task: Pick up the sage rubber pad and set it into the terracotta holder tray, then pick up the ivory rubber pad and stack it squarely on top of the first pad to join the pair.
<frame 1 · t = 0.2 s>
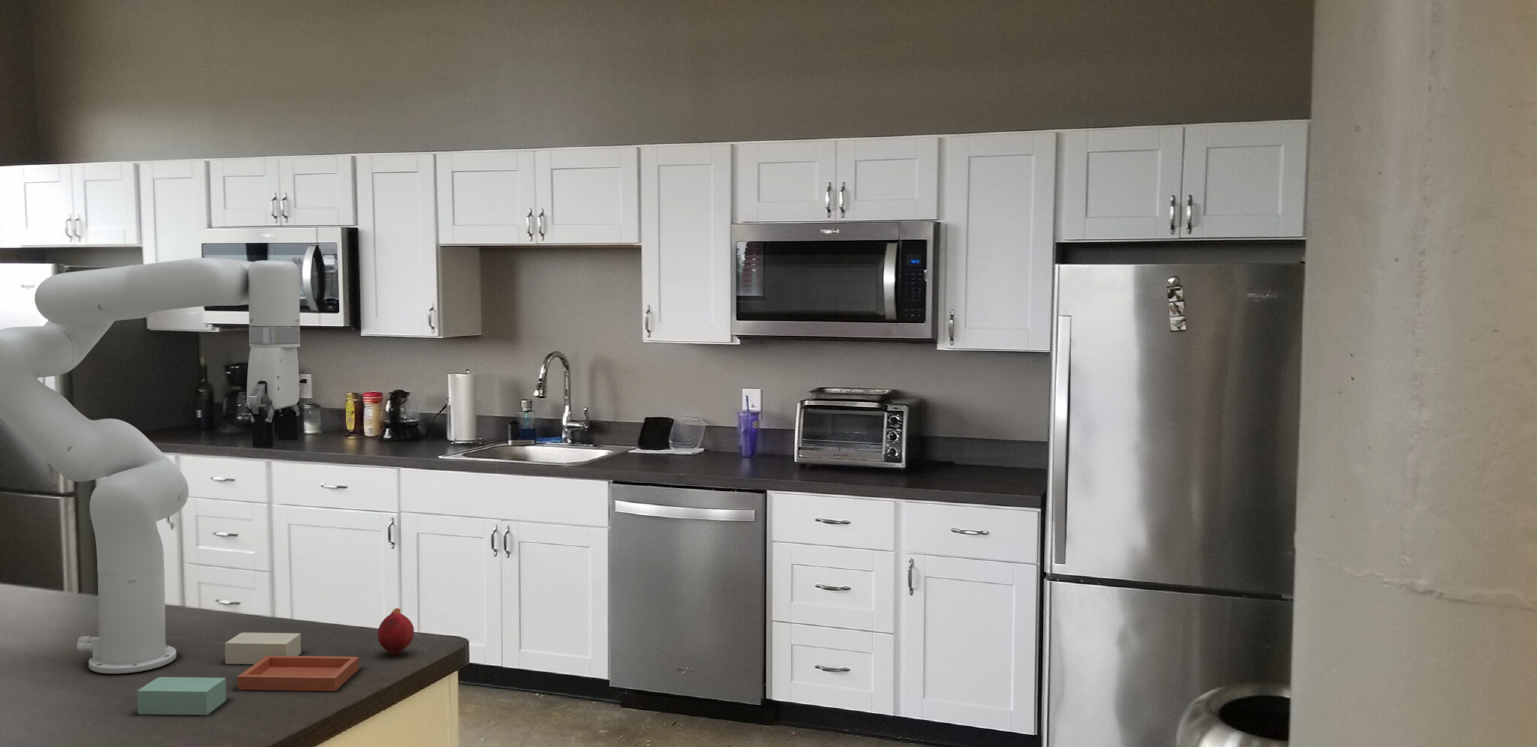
hand: (276, 443, 187), 36 cm above the counter, tool pointing down, fingers open, 9 cm apart
pad top: (263, 658, 193), on the counter
pad base: (182, 707, 170), on the counter
holder: (300, 679, 183), on the counter
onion: (395, 655, 196), on the counter
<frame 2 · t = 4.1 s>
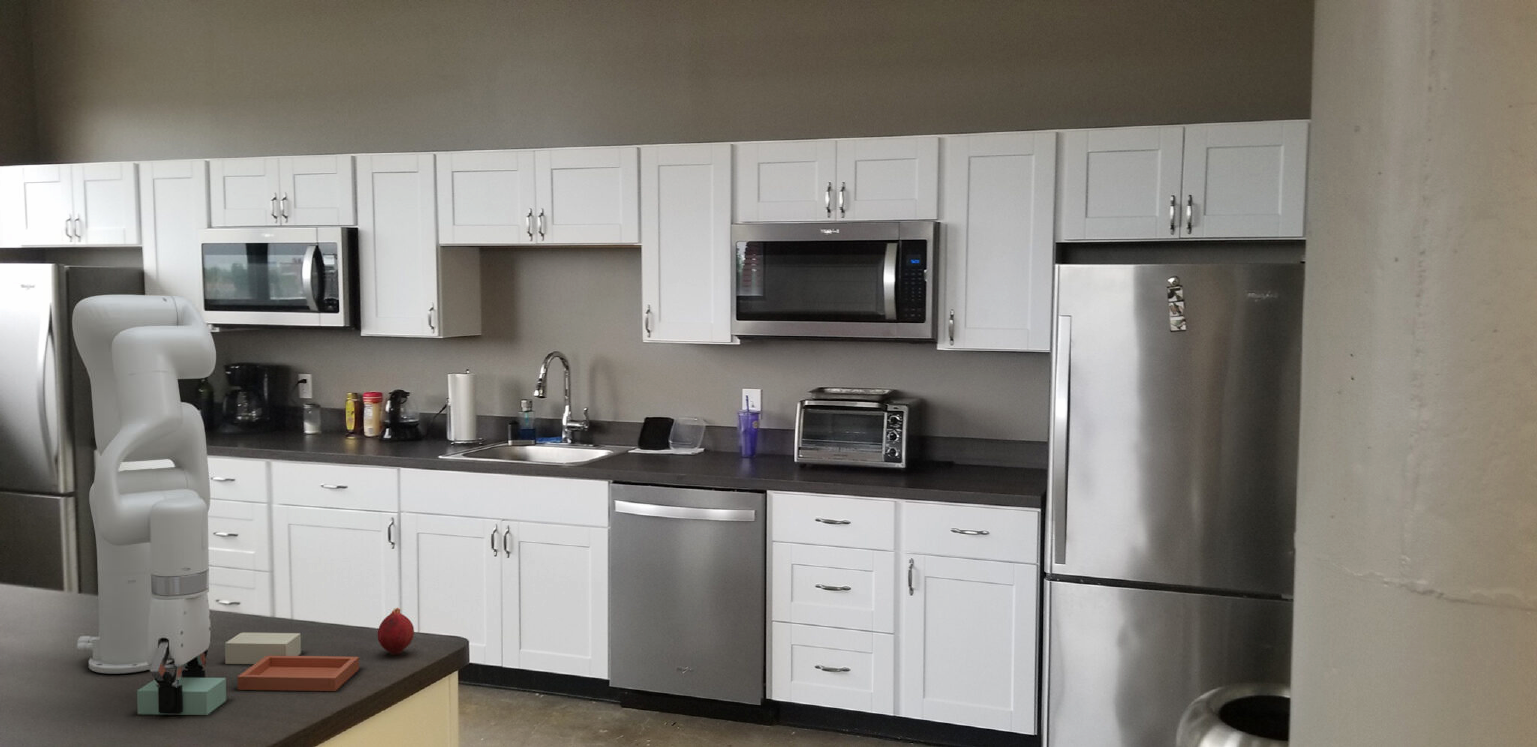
hand: (182, 703, 170), 1 cm above the counter, tool pointing down, fingers closed on pad base, 6 cm apart
pad base: (182, 707, 170), on the counter, touching gripper
everything else where it was.
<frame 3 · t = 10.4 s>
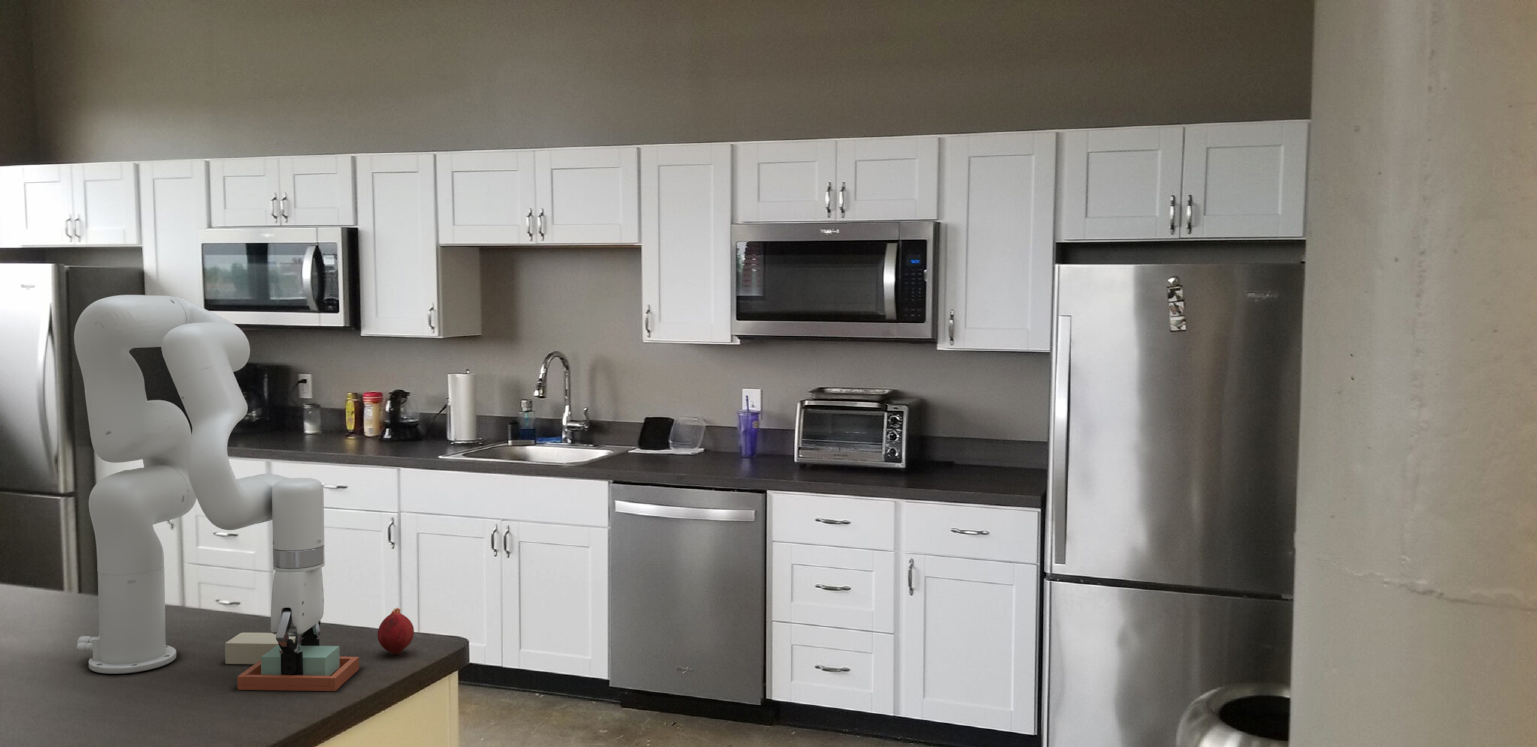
hand: (300, 669, 183), 2 cm above the counter, tool pointing down, fingers closed on pad base, 6 cm apart
pad base: (301, 672, 183), point 1 cm above the counter, touching gripper
everything else where it was.
when the fingers open (2 cm above the counter, at t = 17.8 s): pad base stays where it is, resting on holder.
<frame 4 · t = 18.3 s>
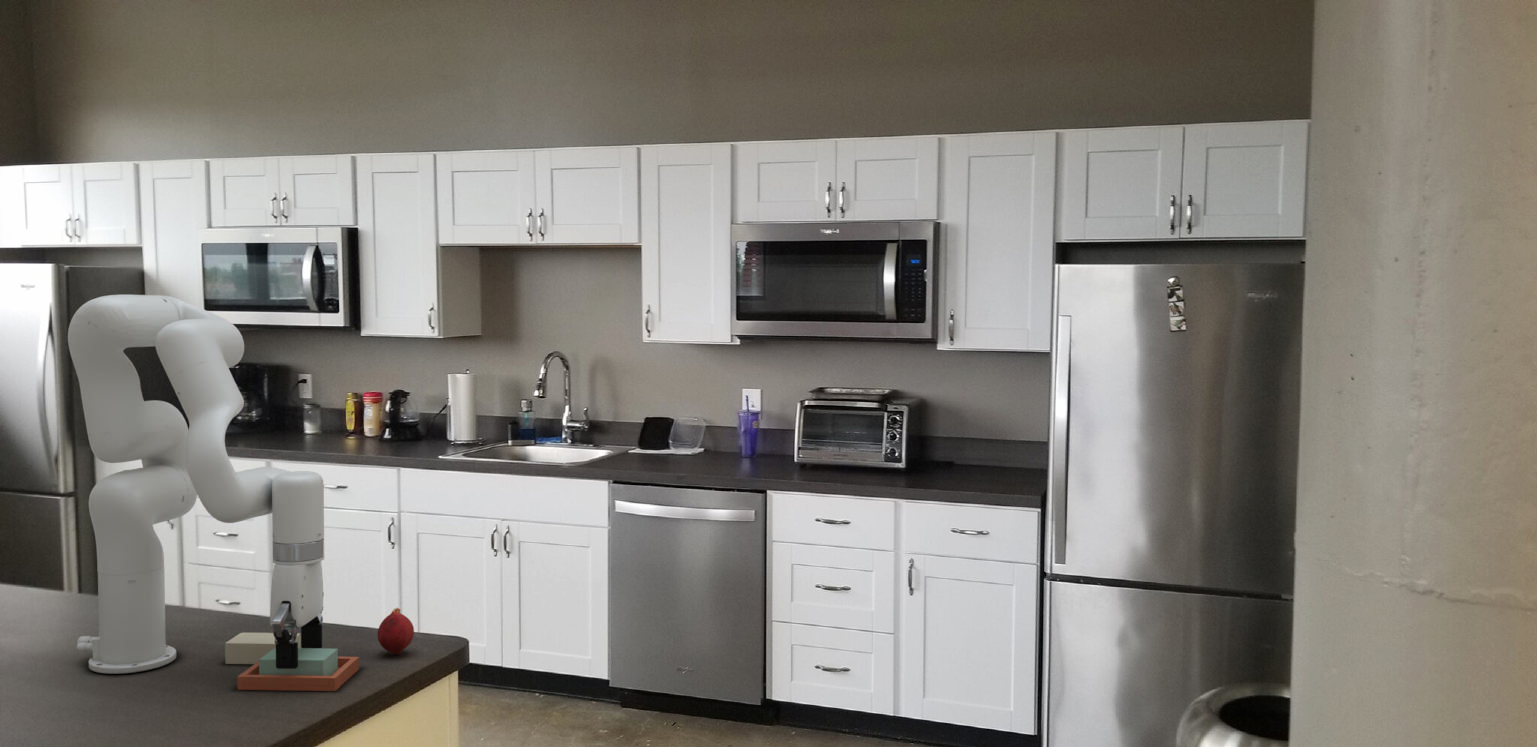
hand: (299, 657, 182), 3 cm above the counter, tool pointing down, fingers open, 9 cm apart
pad base: (299, 675, 183), point 1 cm above the counter, touching holder
everything else where it was.
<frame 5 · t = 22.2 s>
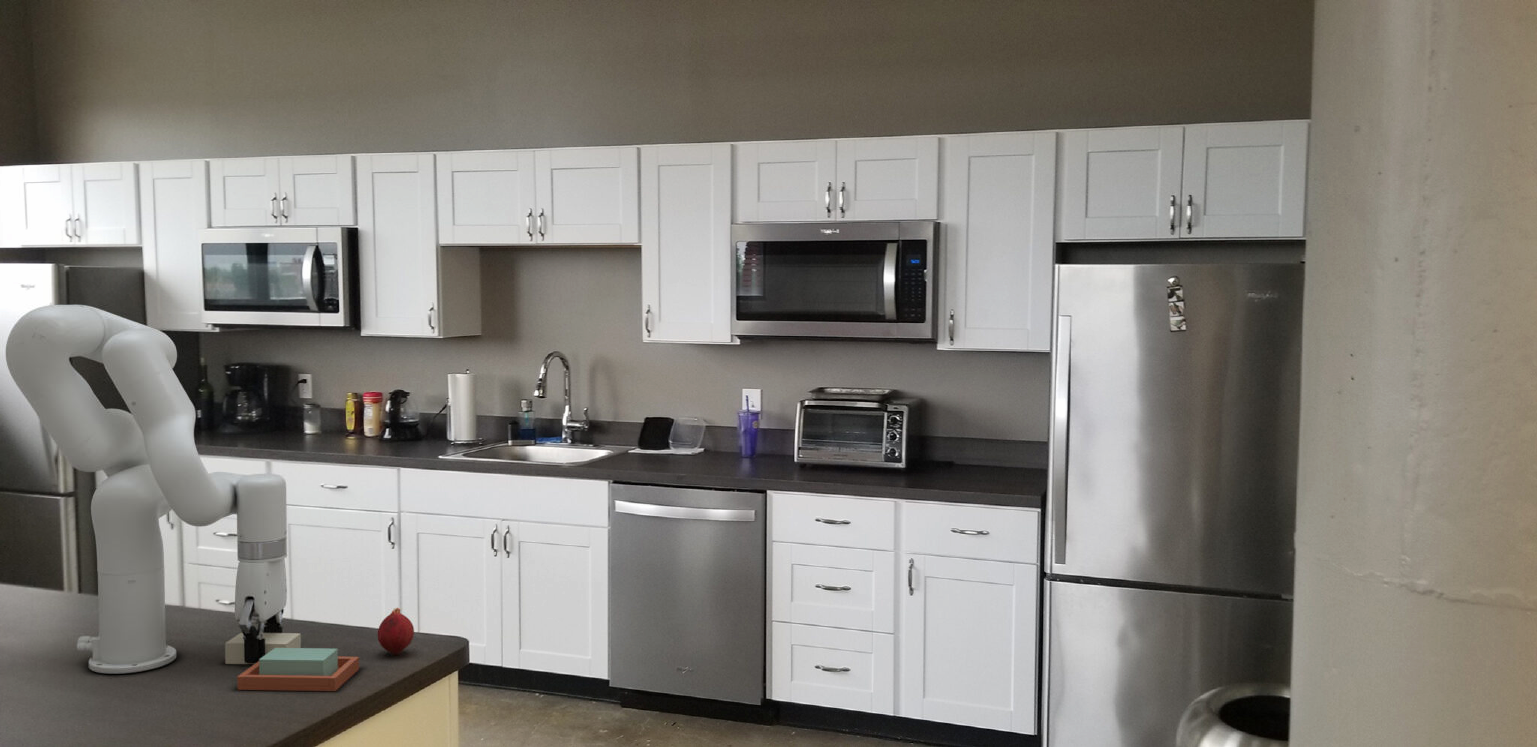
hand: (263, 654, 193), 1 cm above the counter, tool pointing down, fingers closed on pad top, 6 cm apart
pad top: (263, 658, 193), on the counter, touching gripper
everything else where it was.
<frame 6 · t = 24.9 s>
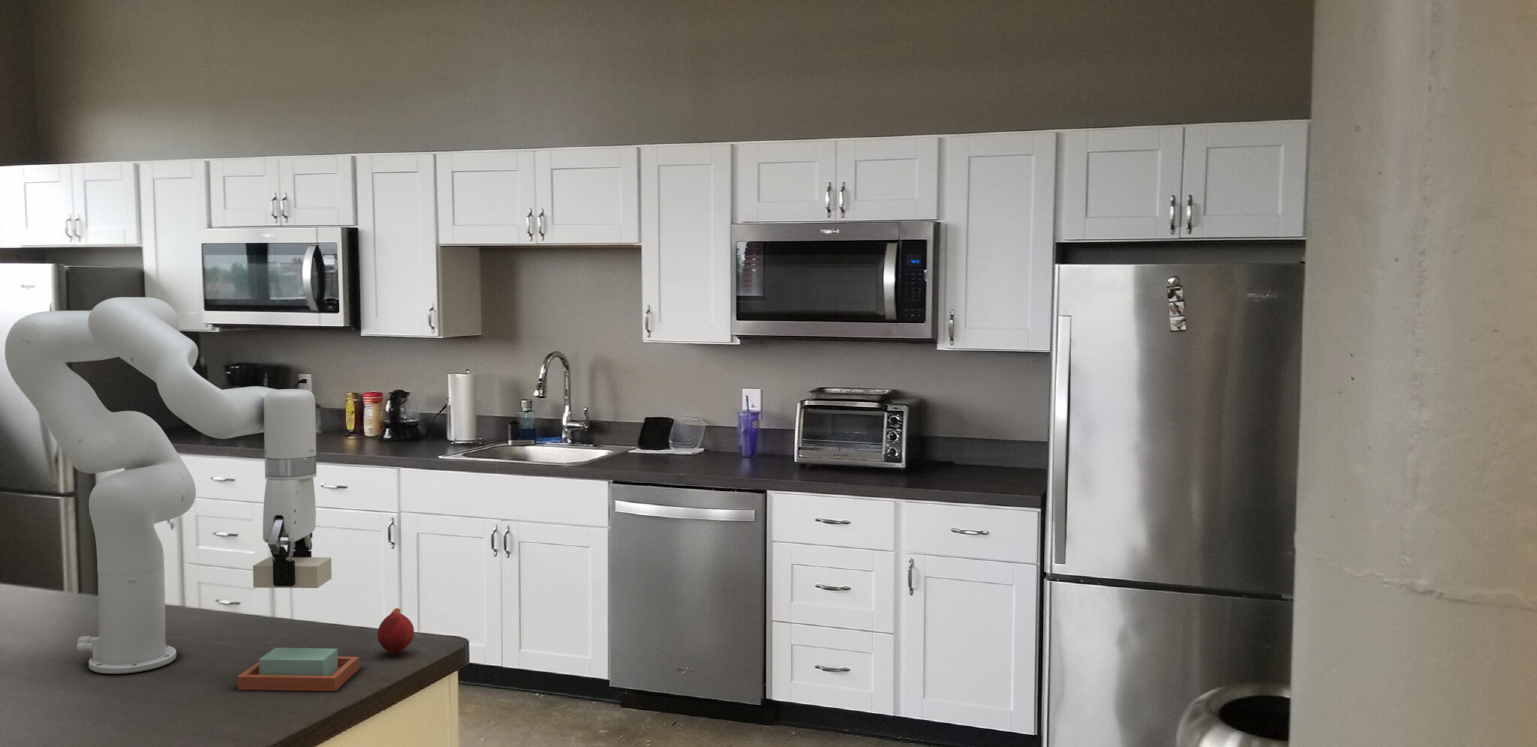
hand: (292, 579, 184), 15 cm above the counter, tool pointing down, fingers closed on pad top, 6 cm apart
pad top: (293, 583, 184), point 15 cm above the counter, touching gripper
everything else where it was.
when the fingers open (5 cm above the counter, at t = 28.0 s): pad top stays where it is, resting on pad base.
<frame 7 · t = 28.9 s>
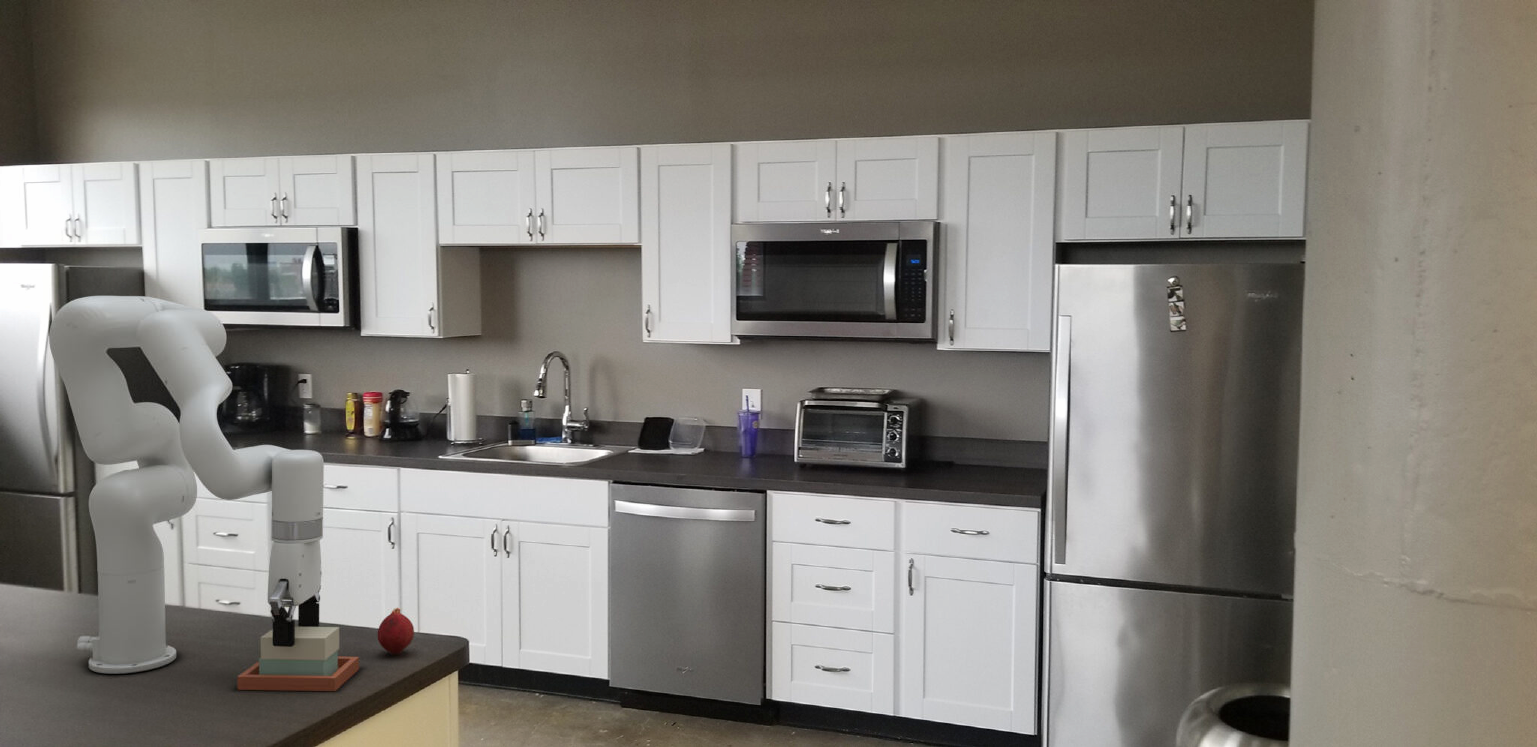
hand: (296, 636, 183), 7 cm above the counter, tool pointing down, fingers open, 9 cm apart
pad top: (300, 653, 182), point 4 cm above the counter, touching pad base
pad base: (299, 675, 183), point 1 cm above the counter, touching holder, pad top
everything else where it was.
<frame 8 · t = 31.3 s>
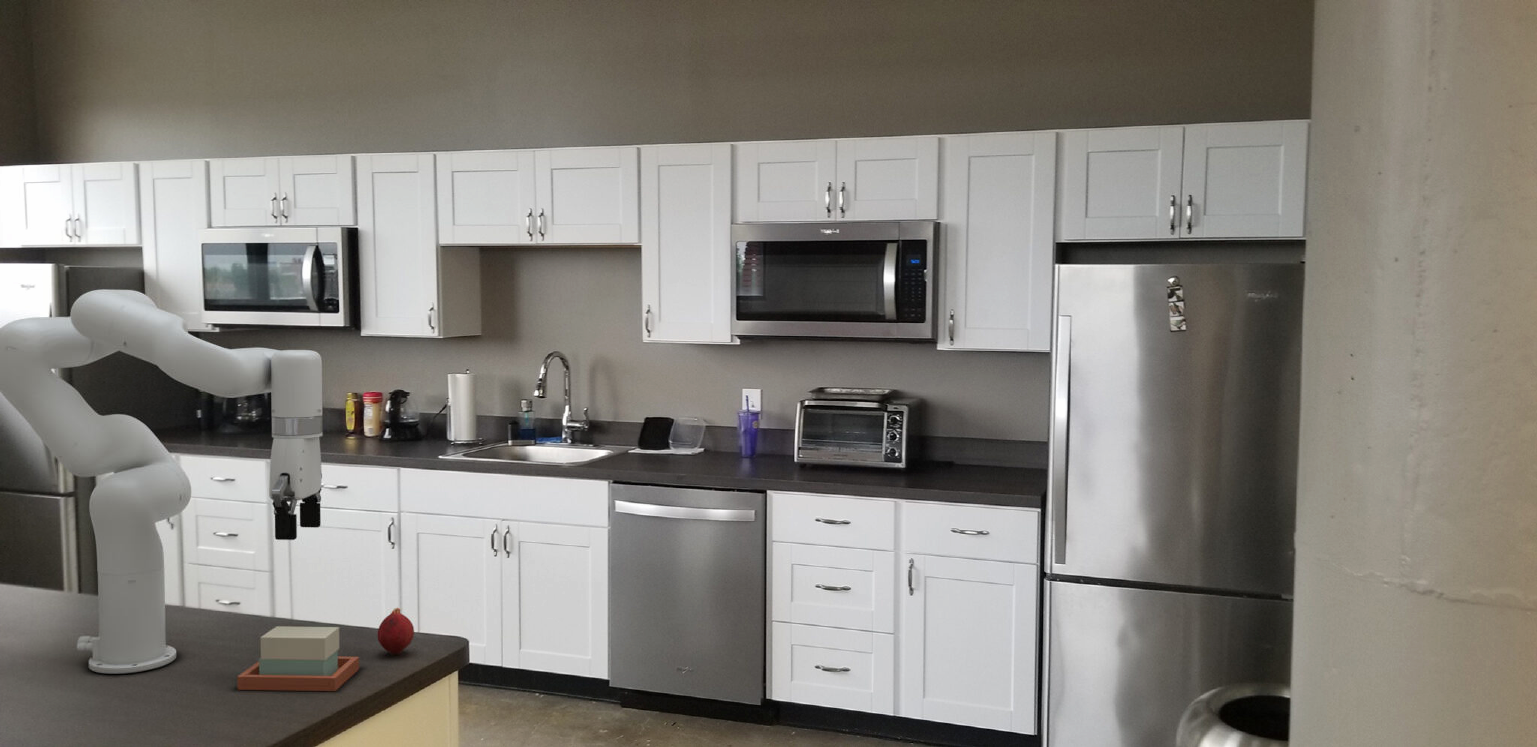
hand: (298, 532, 186), 22 cm above the counter, tool pointing down, fingers open, 9 cm apart
nothing on the counter moved.
at the end: pad base 0.1 cm off-centre in the holder, point 0.6 cm above the holder's base; pad top 0.3 cm off-centre on the pad base, point 3.5 cm above the pad base's base; pad top tilted 0° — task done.
